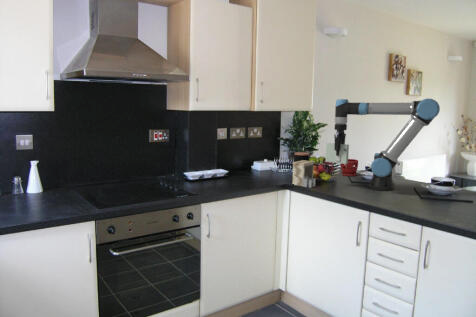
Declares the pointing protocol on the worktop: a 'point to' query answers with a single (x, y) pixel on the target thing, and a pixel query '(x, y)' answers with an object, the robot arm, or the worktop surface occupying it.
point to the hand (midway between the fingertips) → (338, 160)
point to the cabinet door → (332, 153)
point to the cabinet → (302, 171)
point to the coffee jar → (301, 156)
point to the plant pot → (349, 167)
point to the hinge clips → (308, 182)
